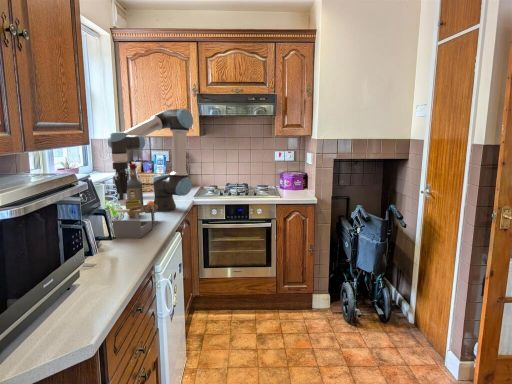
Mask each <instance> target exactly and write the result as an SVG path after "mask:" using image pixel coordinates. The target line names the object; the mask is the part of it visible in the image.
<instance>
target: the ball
mask: <svg viewBox="0 0 512 384" xmlns="http://www.w3.org/2000/svg"><path fill="white" fill-rule="evenodd" d="M146 205H147V206H153V205H154V200H148V201H147V203H146Z"/></svg>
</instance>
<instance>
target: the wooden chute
mask: <svg viewBox="0 0 512 384" xmlns="http://www.w3.org/2000/svg"><path fill="white" fill-rule="evenodd" d="M151 208H154V214H156V213H157V211H156V209H158V205H157V204H154V205H153V206H147V204H143V205H142V206H137V207H132V208H129V209H126V208H125V209H122V208H121V209H116V210H115V213H127V212H129V213H139V214H143V213H145V214H151Z"/></svg>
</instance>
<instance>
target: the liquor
mask: <svg viewBox="0 0 512 384" xmlns="http://www.w3.org/2000/svg"><path fill="white" fill-rule="evenodd" d="M136 168H137V167H136V163H130V164H129V169H130V170H129V173H130V176H129V180H128V183H127V191H126V192H127V193H126V201H135V200H140V206H142V205H144V196H143V195H144V194H143V184H142V181H140V180H139V179H138V178H137V172H136Z"/></svg>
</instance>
